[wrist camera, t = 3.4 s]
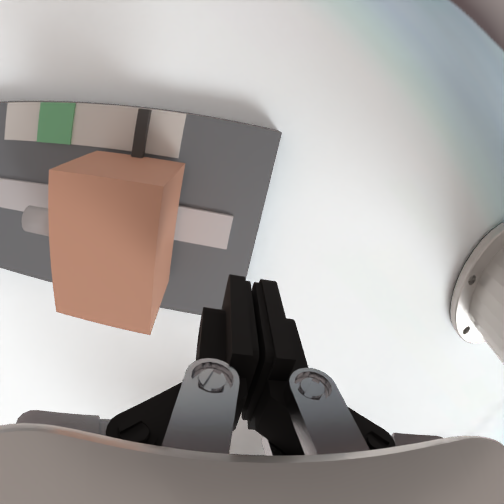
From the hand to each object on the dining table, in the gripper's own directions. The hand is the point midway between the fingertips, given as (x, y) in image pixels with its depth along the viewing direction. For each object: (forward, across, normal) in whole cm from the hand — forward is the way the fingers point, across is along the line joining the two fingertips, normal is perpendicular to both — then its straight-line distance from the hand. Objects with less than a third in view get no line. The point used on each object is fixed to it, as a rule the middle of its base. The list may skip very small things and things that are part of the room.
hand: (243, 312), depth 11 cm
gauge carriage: (+7, +7, -1) cm, 10 cm away
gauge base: (+9, +11, 0) cm, 14 cm away
